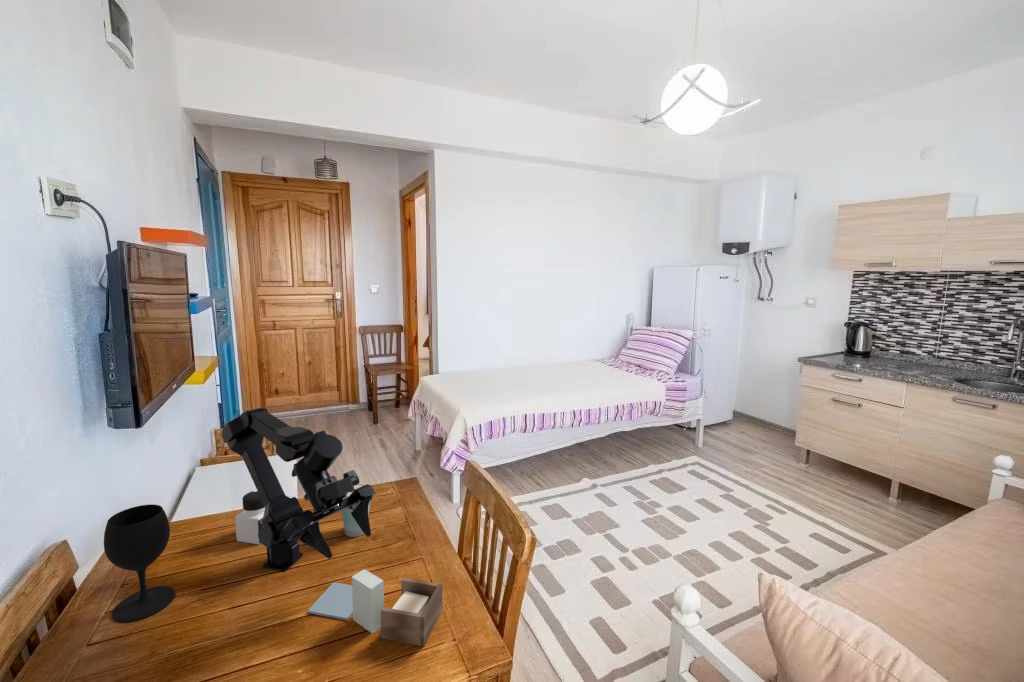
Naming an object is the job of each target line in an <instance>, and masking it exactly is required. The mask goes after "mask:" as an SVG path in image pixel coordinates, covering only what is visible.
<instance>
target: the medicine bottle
mask: <svg viewBox="0 0 1024 682" xmlns="http://www.w3.org/2000/svg"><path fill="white" fill-rule="evenodd" d="M264 511H265V506H264V504H263V502H262V500H261V497H260V495H259V493H258V491H257V489H256V490H252V491H249V492H247V493H246V494H244V495H243V496H242V511H241V512H239V513H238V514H235V516H234V522H235V534H236V535H235V536H236V538H235V539H236V542H240V543H246V544H253V545H262V544H261V543H260V542H259V538H258V533H259V532H260V530H261V529H262V528H263V526H264V524H263V515H264Z"/></svg>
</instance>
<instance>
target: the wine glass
mask: <svg viewBox="0 0 1024 682" xmlns="http://www.w3.org/2000/svg"><path fill="white" fill-rule="evenodd" d="M170 526H171V525H170V523H169V517H168V516H167V514H166V512H165V510H164V508H163V506H161V505H159V504H143V505H137V506H133V507H130V508H127V509H124V510H121V511H119V512H117V513H114V515H112V516H111V517H110V518H108V520H107V521H106V524H105V527H104V528H105V529H104V532H103V533H104V534H103V548H104V549H103V550H104V553H105V555H106V557H107V559H108V561H109V562H110V563H111V564H112V565H114V566H115V567H117V568H120V569H121V570H127V571H135V573H137V576H138V580H139V590H138V591H136V592H134V593H133V594H131V595H128V596H127V597H125V598H124V599H122V600H121V601H120V602H119V603H117V605H115V607H114V608H113V610H112V613H111V617H112V619H113V620H114V621H115V622H117V623H118V622H119V623H123V624H124V623H133V622H139V621H142V620H144V619H147V618H150V617H152V616H154V615H156V614H158V613H159V612H161V611H163V610H164V609H166V608H167V607H168V606H169V605H170V604H171V603H172V602H173V601H174V599H175V597H176V591H175V589H174V588H173V587H171V586H167V585H158V586H152V587H151V586H150V587H148V588H147V584H146V583H147V582H146V572H147V568H148V567H149V566H151V565H152V564H153V563H154V562H155V561H156V560H158V559H159V557H160V556H161V555H162V553H163V552H165V549H166V547H167V546H168V544H169V543H168V542H170V536H171V527H170Z"/></svg>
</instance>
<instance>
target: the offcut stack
mask: <svg viewBox="0 0 1024 682" xmlns="http://www.w3.org/2000/svg"><path fill="white" fill-rule="evenodd" d="M428 602H429V596H425V595H420V594H416V593H412V592H407V591H405V592H404V594H403V595H402V596H400V597H399V599H398V600H397V602H396V603H395V604H394V605H393V606H392V608H391V609H396V610H402V611H407V612H413V613H419V614H422V613H423V611H424V609H425V607H426V605H427V604H428Z"/></svg>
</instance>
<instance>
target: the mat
mask: <svg viewBox="0 0 1024 682" xmlns="http://www.w3.org/2000/svg"><path fill="white" fill-rule="evenodd" d="M307 613H308V614H312V615H316V616H323V617H328V618H332V617H333V618H332V619H338V620H344V621H348V620H349V619H350V617H351V616H353V599H352V584H345V583H340V582H332V583H331V585H330V586H329V587H328V588H327V589H326V590H325V591H324V592H323V593H322V594H321V596H320V597H319V598H318V599H317V600H316V601H315V602H314V603H313V604H312V605H311V606H310V608H308V610H307Z"/></svg>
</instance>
